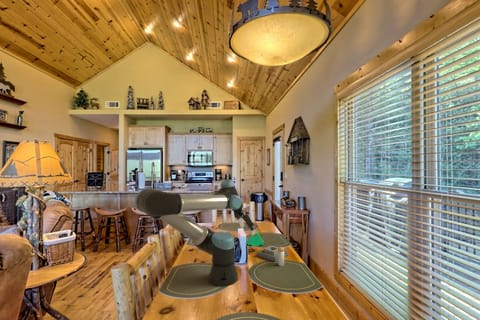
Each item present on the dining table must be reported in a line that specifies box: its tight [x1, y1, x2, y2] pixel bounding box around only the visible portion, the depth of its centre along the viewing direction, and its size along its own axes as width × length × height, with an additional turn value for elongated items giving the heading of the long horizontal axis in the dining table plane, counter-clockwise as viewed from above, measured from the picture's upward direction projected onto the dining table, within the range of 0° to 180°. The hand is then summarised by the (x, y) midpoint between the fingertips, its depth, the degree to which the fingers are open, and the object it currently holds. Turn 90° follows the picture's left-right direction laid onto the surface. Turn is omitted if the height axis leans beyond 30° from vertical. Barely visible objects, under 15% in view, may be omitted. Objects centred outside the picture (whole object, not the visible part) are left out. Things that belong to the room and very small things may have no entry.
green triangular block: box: [246, 230, 265, 247], centre depth 189 cm, size 12×8×10 cm, turn 91°
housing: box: [256, 245, 288, 263], centre depth 165 cm, size 14×14×5 cm
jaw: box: [277, 246, 285, 267], centre depth 151 cm, size 4×4×10 cm
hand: (248, 230), depth 163 cm, fingers open, 13 cm apart
